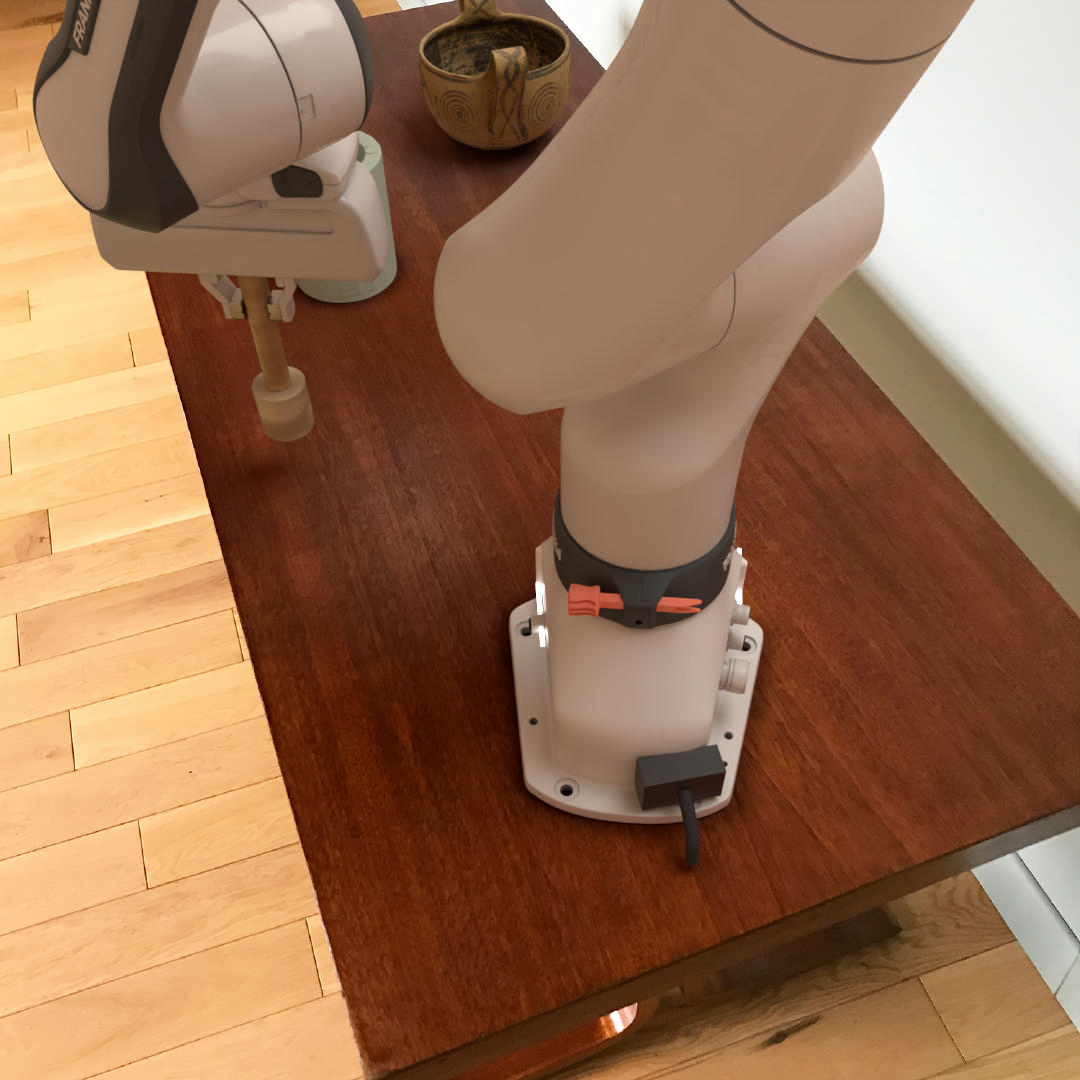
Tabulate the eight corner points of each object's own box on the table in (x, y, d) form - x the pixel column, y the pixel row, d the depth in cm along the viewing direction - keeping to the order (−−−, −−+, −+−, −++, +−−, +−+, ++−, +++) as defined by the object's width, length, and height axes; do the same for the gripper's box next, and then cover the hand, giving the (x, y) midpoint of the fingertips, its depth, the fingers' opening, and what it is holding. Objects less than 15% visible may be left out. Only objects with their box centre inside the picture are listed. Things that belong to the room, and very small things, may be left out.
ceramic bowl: (412, 98, 137) (399, -29, 125) (547, 81, 139) (546, -45, 127) (443, 196, 122) (430, 63, 111) (592, 176, 125) (595, 42, 113)
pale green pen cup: (386, 305, 110) (369, 187, 100) (285, 300, 111) (258, 183, 101) (404, 245, 116) (390, 129, 107) (309, 241, 117) (285, 125, 107)
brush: (308, 443, 90) (265, 262, 77) (257, 440, 90) (205, 259, 77) (319, 407, 93) (279, 226, 79) (270, 404, 93) (222, 224, 80)
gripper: (46, 165, 71) (112, 335, 82) (361, 178, 70) (387, 350, 80) (81, 114, 75) (140, 283, 86) (380, 125, 74) (402, 296, 84)
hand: (261, 315), depth 83 cm, fingers closed on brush, 2 cm apart
